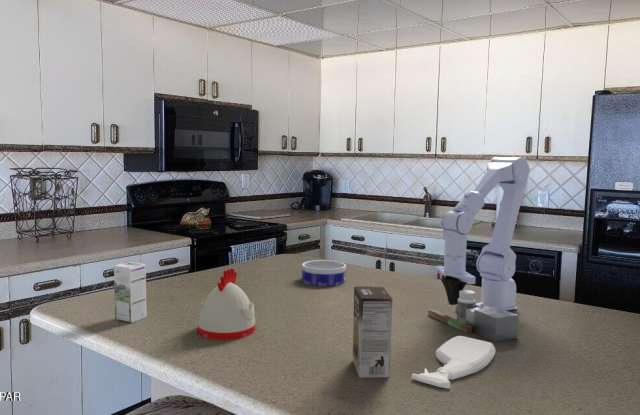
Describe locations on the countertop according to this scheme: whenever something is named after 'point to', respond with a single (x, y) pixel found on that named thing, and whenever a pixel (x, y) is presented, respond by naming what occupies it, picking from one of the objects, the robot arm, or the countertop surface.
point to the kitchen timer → (226, 311)
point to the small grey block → (472, 315)
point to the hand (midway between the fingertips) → (453, 304)
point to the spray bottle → (458, 360)
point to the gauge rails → (450, 320)
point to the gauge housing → (495, 324)
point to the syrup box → (130, 291)
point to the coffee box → (372, 331)
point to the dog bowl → (323, 272)
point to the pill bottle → (465, 304)
